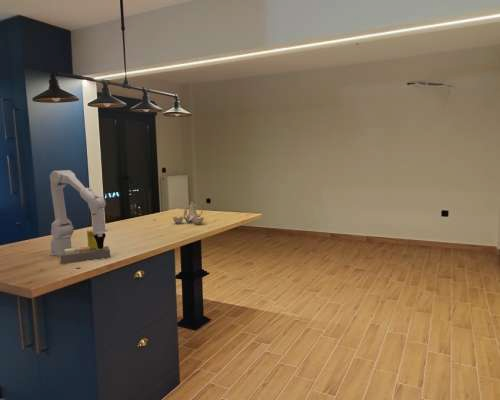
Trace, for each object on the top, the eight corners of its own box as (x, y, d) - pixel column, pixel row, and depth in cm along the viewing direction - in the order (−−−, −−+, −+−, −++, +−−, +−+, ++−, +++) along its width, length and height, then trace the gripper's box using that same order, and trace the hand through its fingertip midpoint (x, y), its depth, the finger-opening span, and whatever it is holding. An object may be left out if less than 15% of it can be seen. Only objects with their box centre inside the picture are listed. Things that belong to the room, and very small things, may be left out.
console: (61, 259, 189) (61, 250, 189) (108, 253, 198) (108, 245, 198) (61, 264, 180) (60, 255, 180) (110, 257, 189) (109, 249, 188)
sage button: (96, 253, 193) (95, 248, 192) (105, 252, 195) (104, 247, 194) (96, 255, 189) (96, 249, 188) (105, 254, 191) (105, 248, 190)
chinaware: (169, 227, 284) (166, 205, 281) (179, 221, 300) (177, 200, 296) (203, 228, 275) (201, 205, 272) (212, 222, 291) (210, 200, 287)
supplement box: (98, 248, 212) (96, 228, 211) (104, 249, 208) (102, 229, 207) (88, 250, 207) (86, 230, 206) (93, 251, 204) (92, 231, 202)
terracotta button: (80, 253, 190) (80, 247, 190) (90, 252, 192) (89, 246, 191) (80, 255, 186) (80, 249, 186) (90, 254, 188) (90, 248, 187)
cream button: (65, 255, 187) (64, 249, 187) (75, 253, 189) (74, 248, 188) (64, 257, 183) (64, 250, 183) (75, 255, 185) (74, 249, 184)
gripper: (108, 223, 185) (110, 250, 186) (106, 219, 198) (107, 244, 200) (92, 224, 182) (94, 252, 184) (91, 220, 195) (93, 246, 197)
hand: (100, 248), depth 191 cm, fingers closed, pressing on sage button
